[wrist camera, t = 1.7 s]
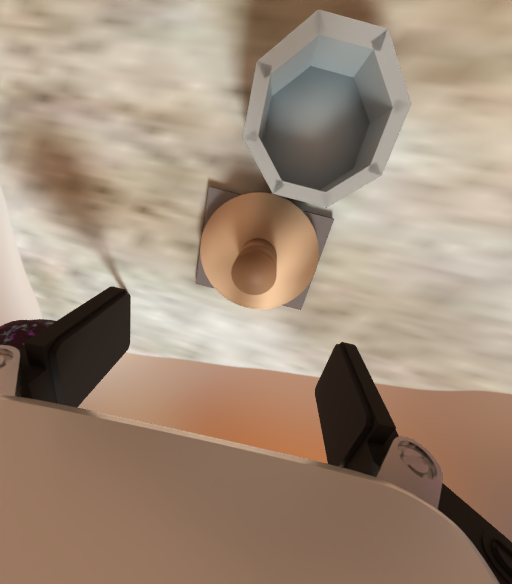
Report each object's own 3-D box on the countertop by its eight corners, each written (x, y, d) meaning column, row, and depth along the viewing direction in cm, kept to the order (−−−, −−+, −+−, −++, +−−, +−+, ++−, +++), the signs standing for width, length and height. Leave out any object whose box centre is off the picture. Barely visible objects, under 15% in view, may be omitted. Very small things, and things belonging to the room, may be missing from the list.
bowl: (397, 76, 18) (437, 41, 14) (346, 210, 23) (364, 217, 18) (270, 41, 18) (268, -5, 14) (243, 183, 22) (234, 183, 18)
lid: (334, 210, 22) (353, 219, 17) (297, 315, 27) (301, 349, 22) (212, 178, 22) (190, 176, 16) (196, 290, 27) (175, 317, 21)
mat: (332, 218, 23) (333, 219, 22) (300, 307, 27) (300, 309, 27) (210, 186, 23) (208, 186, 22) (197, 281, 27) (195, 283, 26)
